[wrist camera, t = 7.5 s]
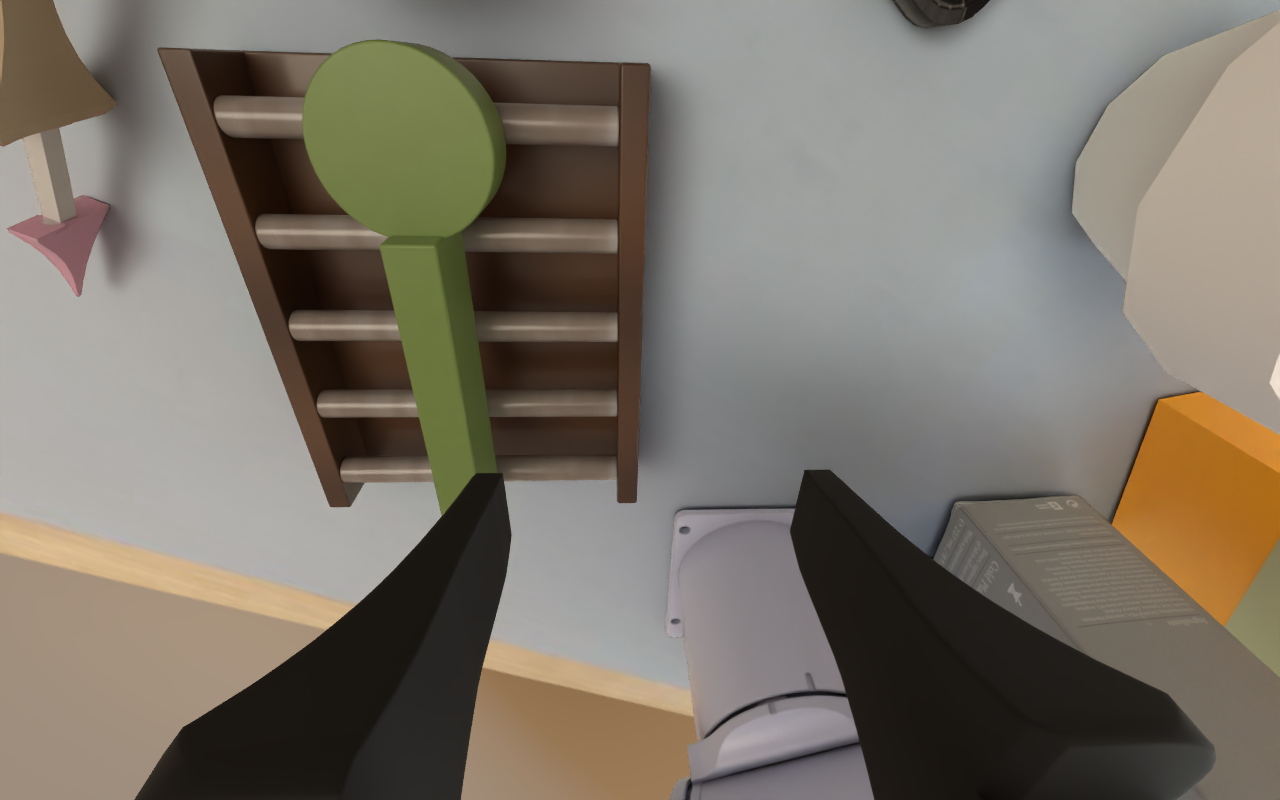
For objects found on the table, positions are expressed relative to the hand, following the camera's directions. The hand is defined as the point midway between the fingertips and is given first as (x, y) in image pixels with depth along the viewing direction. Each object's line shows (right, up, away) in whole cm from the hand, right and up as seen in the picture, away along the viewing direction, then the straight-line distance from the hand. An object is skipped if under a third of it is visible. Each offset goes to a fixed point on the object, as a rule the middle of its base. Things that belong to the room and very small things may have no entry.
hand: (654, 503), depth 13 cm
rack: (-6, +6, +7) cm, 11 cm away
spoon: (-6, +5, +4) cm, 9 cm away
